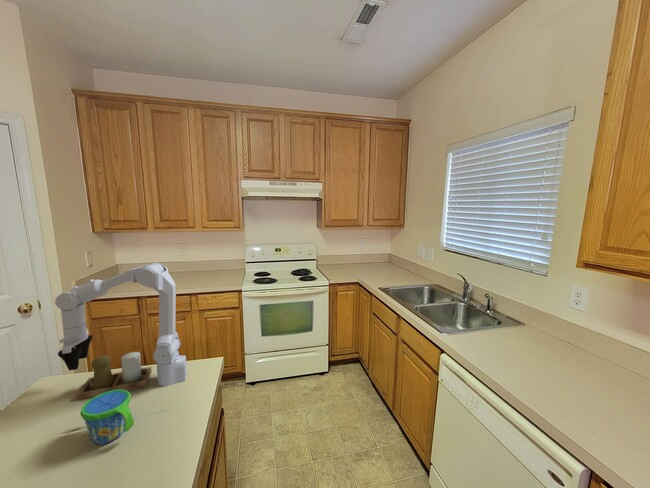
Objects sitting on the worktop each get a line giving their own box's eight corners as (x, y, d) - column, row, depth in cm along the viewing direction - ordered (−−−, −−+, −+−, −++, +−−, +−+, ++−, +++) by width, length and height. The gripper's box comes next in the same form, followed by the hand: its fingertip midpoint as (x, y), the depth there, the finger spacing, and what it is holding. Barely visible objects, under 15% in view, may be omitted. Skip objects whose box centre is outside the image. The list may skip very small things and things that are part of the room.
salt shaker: (143, 375, 102) (141, 350, 101) (140, 384, 97) (138, 358, 96) (125, 379, 100) (123, 353, 98) (121, 388, 94) (118, 361, 93)
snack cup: (147, 429, 78) (144, 396, 77) (106, 460, 68) (103, 423, 67) (112, 414, 84) (109, 383, 82) (69, 440, 74) (66, 406, 73)
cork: (91, 387, 95) (88, 357, 94) (112, 379, 99) (110, 351, 98) (93, 395, 91) (90, 364, 89) (116, 387, 95) (113, 357, 94)
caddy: (151, 373, 105) (151, 366, 104) (146, 388, 96) (145, 381, 95) (89, 385, 97) (89, 377, 97) (77, 403, 88) (76, 395, 88)
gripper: (69, 319, 96) (72, 355, 98) (47, 336, 83) (51, 378, 84) (94, 316, 99) (97, 351, 100) (76, 332, 86) (80, 372, 87)
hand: (78, 363), depth 93 cm, fingers open, 7 cm apart
